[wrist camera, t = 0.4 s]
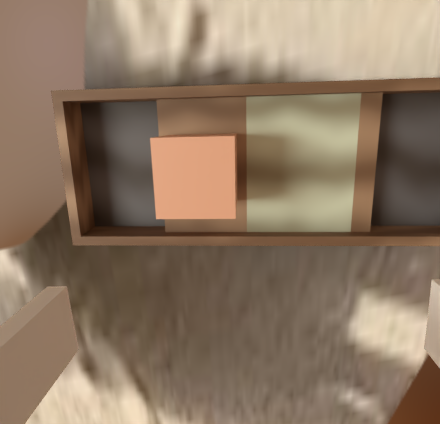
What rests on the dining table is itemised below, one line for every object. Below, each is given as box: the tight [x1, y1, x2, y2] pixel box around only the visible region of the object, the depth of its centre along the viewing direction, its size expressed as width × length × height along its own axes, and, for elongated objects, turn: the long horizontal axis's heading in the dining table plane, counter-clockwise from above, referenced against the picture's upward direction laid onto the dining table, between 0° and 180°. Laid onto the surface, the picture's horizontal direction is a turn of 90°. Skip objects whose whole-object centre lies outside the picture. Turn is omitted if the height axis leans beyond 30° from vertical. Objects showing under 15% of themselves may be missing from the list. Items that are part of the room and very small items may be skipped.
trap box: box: [51, 78, 440, 246], centre depth 35 cm, size 16×42×4 cm, turn 91°
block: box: [150, 133, 237, 219], centre depth 32 cm, size 7×7×7 cm
